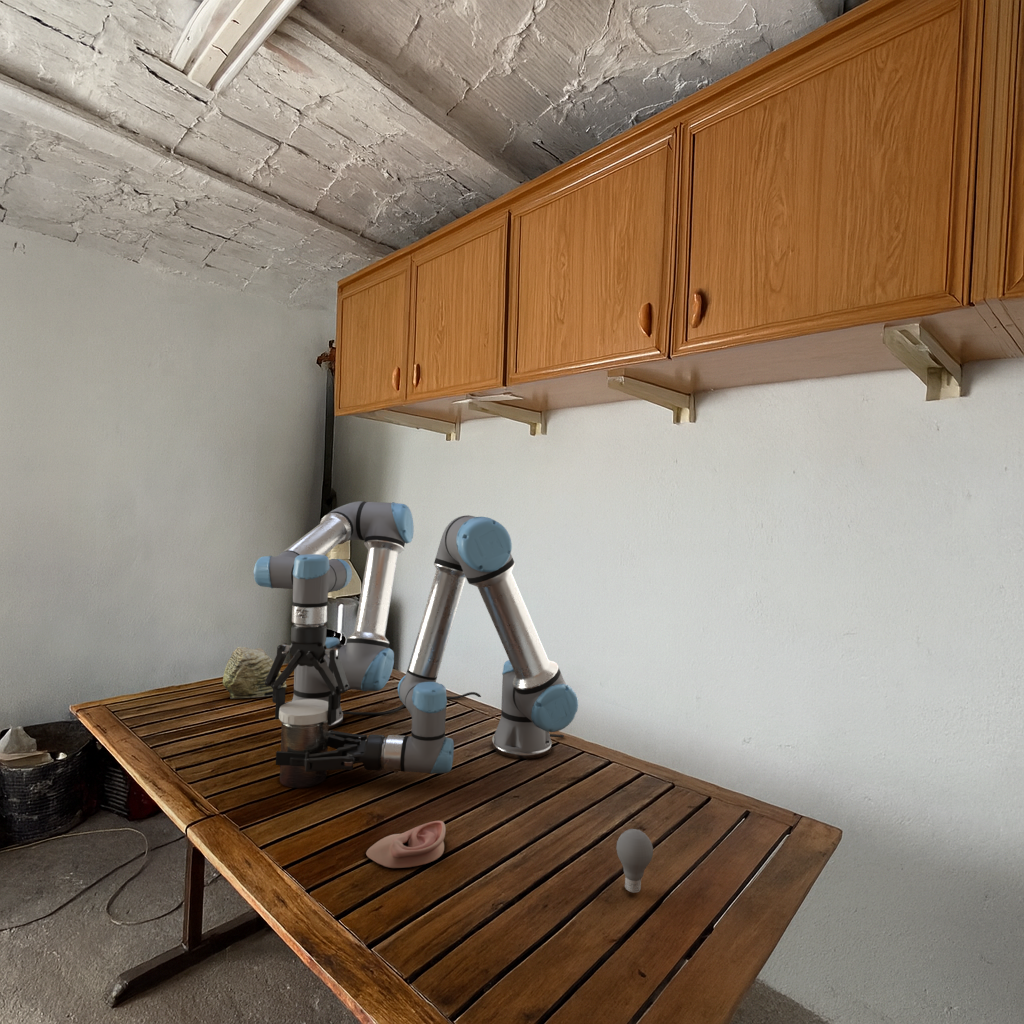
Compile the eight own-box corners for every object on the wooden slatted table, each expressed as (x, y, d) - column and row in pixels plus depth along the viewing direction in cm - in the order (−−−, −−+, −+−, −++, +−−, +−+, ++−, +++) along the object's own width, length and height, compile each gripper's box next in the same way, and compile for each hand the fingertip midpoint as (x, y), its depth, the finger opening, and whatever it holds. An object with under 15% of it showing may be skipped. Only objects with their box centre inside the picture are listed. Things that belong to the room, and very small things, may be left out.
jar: (314, 764, 149) (316, 701, 149) (334, 779, 142) (337, 713, 142) (272, 776, 142) (274, 709, 142) (291, 792, 135) (294, 722, 135)
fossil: (218, 695, 195) (220, 647, 195) (278, 685, 208) (279, 640, 207) (228, 703, 189) (230, 653, 188) (289, 692, 201) (290, 645, 201)
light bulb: (610, 879, 108) (613, 822, 108) (644, 879, 109) (647, 822, 109) (619, 902, 102) (622, 840, 102) (655, 901, 103) (658, 840, 103)
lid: (324, 705, 150) (325, 696, 150) (337, 720, 140) (338, 711, 140) (274, 711, 144) (275, 702, 144) (284, 728, 134) (284, 718, 134)
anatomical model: (359, 840, 110) (385, 809, 121) (358, 862, 110) (384, 829, 121) (431, 852, 107) (451, 819, 119) (431, 875, 107) (451, 840, 119)
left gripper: (250, 623, 140) (246, 720, 140) (353, 631, 136) (349, 731, 136) (268, 617, 147) (265, 709, 148) (366, 624, 143) (363, 719, 144)
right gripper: (372, 792, 131) (264, 787, 131) (393, 749, 153) (302, 745, 154) (373, 756, 131) (266, 751, 131) (394, 718, 153) (303, 714, 153)
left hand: (305, 720), depth 142 cm, fingers open, 12 cm apart
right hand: (285, 748), depth 142 cm, fingers closed on jar, 10 cm apart
